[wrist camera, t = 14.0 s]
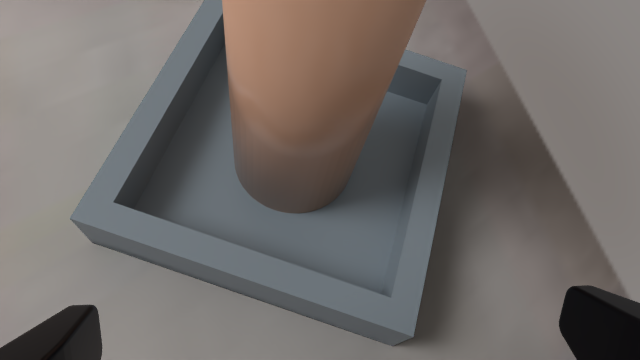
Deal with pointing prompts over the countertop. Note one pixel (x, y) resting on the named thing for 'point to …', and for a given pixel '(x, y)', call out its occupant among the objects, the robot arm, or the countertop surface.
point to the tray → (270, 225)
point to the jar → (308, 90)
